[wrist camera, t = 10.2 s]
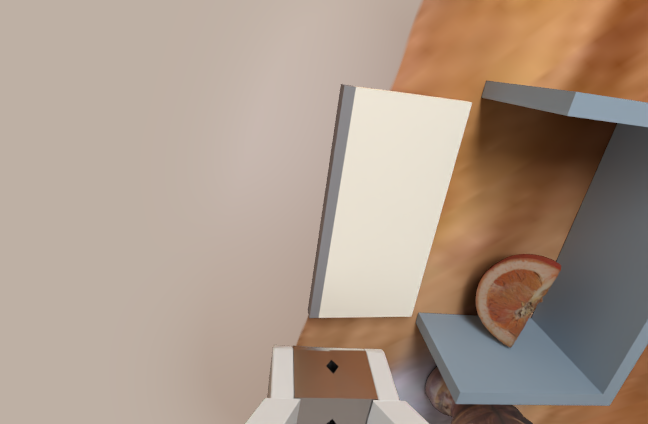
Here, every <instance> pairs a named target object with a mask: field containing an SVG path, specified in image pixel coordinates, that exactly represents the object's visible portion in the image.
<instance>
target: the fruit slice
mask: <svg viewBox="0 0 648 424" xmlns="http://www.w3.org/2000/svg"><path fill="white" fill-rule="evenodd" d="M560 271H561V265H560V264H559V263H557V262H555V261H554V260H551V259H549V258H546V257H544V256H539V255H533V254H519V255H513V256H510V257H507V258H505V259H503V260H501V261H500V262H498V263H496V264H495V265H493V266H492V267H491V268H490V269H489V270H488V271H486V273H485V274H484V275H483V276H482V278H481V280H480V282H479V284H478V288H477V292H476V308H477V313H478V315H479V317H480V319H481V321H482V323H483V324H484V326H485V327H486V328H487V329H488V330H489V331H490V333H491V334H492V335H493V336H495V337H496V338H497V339H498V340H499V341H501V342H502V343H503V344H505V345H507V346H508V347H510V348H511V347H512V346H513V345H514V343H515V341H516V340H517V338H518V336H519V334H520V333H521V331H522V330H523V328H524V327H525V325H526V322H527V321H528V319H529V317H530V315H531V313H532V312H533V310H534V309H535V308H536V306H537V305H538V304H539V302H542V301H543V299H542V298H543V296H545V295H546V294H547V292H548V291H549V289H550V287H551V286H552V284H553V282H554V281H555V279H556V278H557V277H558V274H559V272H560Z"/></svg>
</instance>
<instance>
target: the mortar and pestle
mask: <svg viewBox="0 0 648 424" xmlns="http://www.w3.org/2000/svg"><path fill="white" fill-rule="evenodd" d="M425 390H426V394H427V396H428V398H429V400H430V402H431V403H432V405H433V406H434V407H435V408H436V409H437V410H438V411H440V412H441V413H443V414H446V415H448V416H452V417H453V419H452V422H451V424H532V422H530V421H529V420H527V419H526V418H525V417H523V415H522V414H521V413H520V412H519V410H518V409H517V408H516V407H514V406H512V405H500V404H455V402H454V400H453V398H452V396H451V393H450V391H449V389H448V387H447V385H446V383H445V381H444V379H443V377H442V375H441V373H440V371H439V369H438V367H436V368H435V369H434V370H433V371H432V372H431V374H430V375H429V377H428V379H427V382H426V389H425Z"/></svg>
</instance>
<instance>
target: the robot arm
mask: <svg viewBox="0 0 648 424" xmlns="http://www.w3.org/2000/svg"><path fill="white" fill-rule="evenodd" d="M245 424H429V423H428V422H427V421H426V420H425V419H424V418H423V417H422V416H421V415H420V414H419V413H418V412H417V411H416V410H415V409H413V408H412V407H411V406H410V405H409V404H408V403H407V402H406V401H400V399H399V396H398V393H397V390H396V387H395V384H394V381H393V377H392V374H391V371H390V368H389V365H388V362H387V359H386V356H385V353H384V351H383V350H382V349H351V348H320V347H305V346H293V347H292V346H283V345H274V346H273V351H272V360H271V368H270V377H269V386H268V396H267V398H265V399H264V400H263V401H262V403H261V404H260V405H259V406H258V407H257V409H256V410H255V411H254V413H253V414H252V415H251V416H250V418H249V419H248V420H247V422H246V423H245Z"/></svg>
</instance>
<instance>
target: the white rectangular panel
mask: <svg viewBox="0 0 648 424" xmlns="http://www.w3.org/2000/svg"><path fill="white" fill-rule="evenodd" d="M471 105H472V103H471V102H467V101H461V100H454V99H446V98H439V97H432V96H424V95H417V94H410V93H402V92H395V91H387V90H380V89H372V88H365V87H358V86H351V85H343V84H341V88H340V95H339V102H338V109H337V115H336V123H335V129H334V136H333V143H332V149H331V156H330V163H329V170H328V177H327V184H326V191H325V197H324V204H323V211H322V217H321V224H320V231H319V238H318V245H317V252H316V259H315V265H314V272H313V279H312V286H311V292H310V299H309V307H308V314H309V318H347V317H411V316H412V313H413V309H414V306H415V302H416V299H417V295H418V292H419V288H420V285H421V281H422V278H423V274H424V271H425V267H426V264H427V260H428V256H429V253H430V249H431V246H432V242H433V239H434V235H435V232H436V228H437V225H438V221H439V218H440V214H441V211H442V207H443V204H444V200H445V197H446V193H447V190H448V186H449V183H450V179H451V175H452V172H453V168H454V165H455V161H456V158H457V154H458V151H459V147H460V144H461V140H462V137H463V133H464V130H465V126H466V123H467V119H468V116H469V112H470V109H471Z"/></svg>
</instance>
